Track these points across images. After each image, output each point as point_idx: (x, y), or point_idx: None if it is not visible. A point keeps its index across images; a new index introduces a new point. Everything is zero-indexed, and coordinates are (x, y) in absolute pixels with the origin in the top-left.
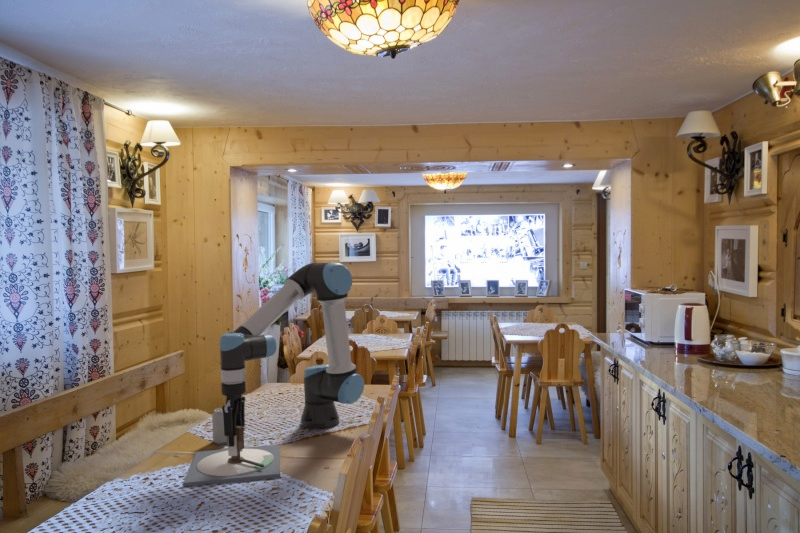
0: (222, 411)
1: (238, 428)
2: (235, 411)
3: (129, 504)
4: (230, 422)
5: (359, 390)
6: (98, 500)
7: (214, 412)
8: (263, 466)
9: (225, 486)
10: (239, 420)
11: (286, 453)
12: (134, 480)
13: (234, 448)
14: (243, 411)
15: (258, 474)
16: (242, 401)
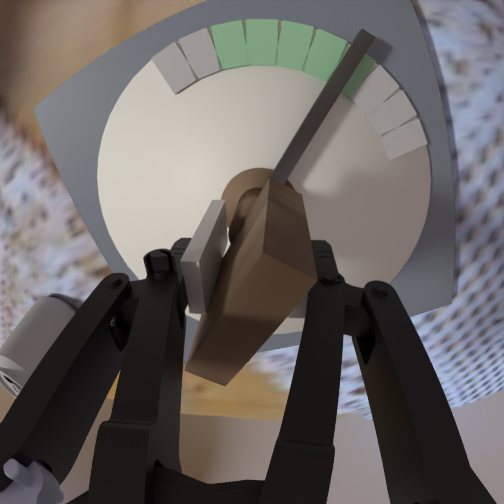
0: (11, 380)
1: (312, 285)
2: (325, 483)
3: (492, 349)
4: (435, 382)
5: None
6: (450, 397)
7: None
8: (363, 32)
9: (471, 168)
10: (169, 341)
11: (88, 42)
12: (367, 401)
13: None
14: (59, 373)
15: (414, 49)
16: (21, 473)
